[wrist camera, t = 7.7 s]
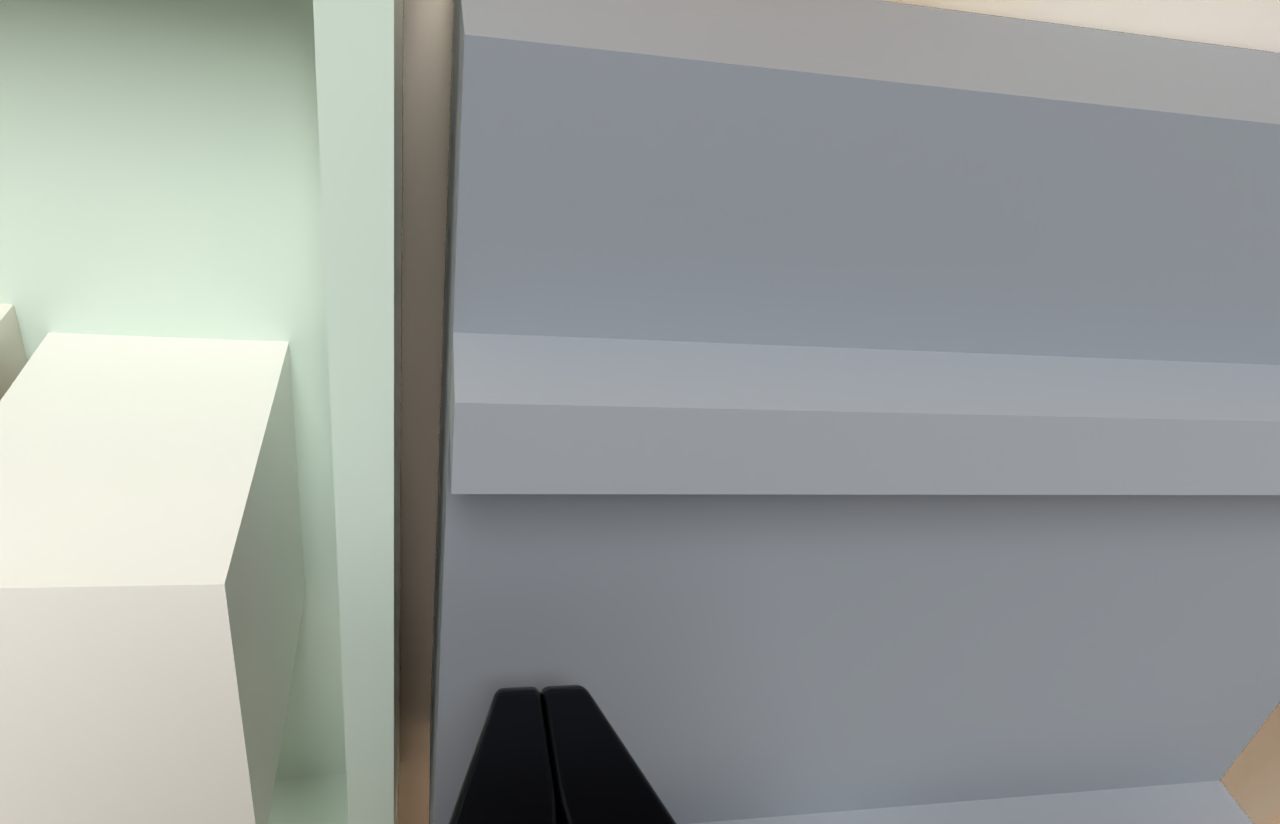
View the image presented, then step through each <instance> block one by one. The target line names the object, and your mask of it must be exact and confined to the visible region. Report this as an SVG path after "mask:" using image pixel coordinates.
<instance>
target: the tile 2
mask: <svg viewBox="0 0 1280 824" xmlns="http://www.w3.org/2000/svg"><path fill="white" fill-rule="evenodd" d="M305 593H306V592H305V577H304V562H303V547H302V532H301V517H300V502H299V487H298V472H297V457H296V442H295V427H294V412H293V397H292V382H291V367H290V352H289V342H283V341H256V340H229V339H202V338H176V337H149V336H122V335H96V334H69V333H48V334H47V335H46V337H45V338H44V339H43V341H42V342H41V344H40V345H39V347H38V348H37V349H36V351H35V352H34V354H33V355H32V356H31V358H30V359H29V361H28V362H27V364H26V365H25V366H24V368H23V369H22V371H21V372H20V374H19V375H18V376H17V378H16V379H15V381H14V382H13V383H12V385H11V386H10V388H9V389H8V391H7V392H6V393H5V395H4V396H3V398H2V399H1V401H0V824H268V820H269V814H270V808H271V801H272V795H273V789H274V783H275V777H276V771H277V765H278V759H279V752H280V746H281V740H282V734H283V728H284V722H285V716H286V709H287V703H288V697H289V691H290V685H291V679H292V673H293V667H294V660H295V654H296V648H297V642H298V636H299V630H300V624H301V618H302V611H303V605H304V599H305Z"/></svg>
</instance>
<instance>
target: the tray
mask: <svg viewBox="0 0 1280 824" xmlns="http://www.w3.org/2000/svg"><path fill="white" fill-rule="evenodd" d="M403 8H404V0H0V304H13V305H14V309H15V313H16V317H17V321H18V325H19V329H20V333H21V337H22V341H23V345H24V349H25V353H26V358H27V362H28V361H29V359H30V358H31V356H32V355H33V354H34V352H35V351H36V349H37V348H38V347H39V345H40V344H41V342H42V341H43V339H44V338H45V337H46V335H47V334H48V333H69V334H96V335H122V336H149V337H176V338H202V339H229V340H256V341H283V342H289V352H290V367H291V382H292V397H293V412H294V427H295V442H296V457H297V472H298V487H299V502H300V517H301V532H302V547H303V562H304V577H305V592H306V593H305V599H304V605H303V611H302V618H301V624H300V630H299V636H298V642H297V648H296V654H295V660H294V667H293V673H292V679H291V685H290V691H289V697H288V703H287V709H286V716H285V722H284V728H283V734H282V740H281V746H280V752H279V759H278V765H277V771H276V777H275V783H274V789H273V795H272V801H271V808H270V814H269V820H268V824H397V813H398V788H399V737H400V555H401V373H402V190H403Z"/></svg>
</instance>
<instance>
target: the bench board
mask: <svg viewBox="0 0 1280 824" xmlns="http://www.w3.org/2000/svg"><path fill="white" fill-rule="evenodd" d="M560 685H581V686H583V687H584V688H586V689H587V690H588V692H589V693H590V694H591V696H592V697H593V699H594V700H595V702H596V703H597V705H598V706H599V708H600V709H601V711H602V712H603V714H604V715H605V717H606V718H607V720H608V721H609V723H610V724H611V726H612V727H613V729H614V730H615V732H616V733H617V735H618V736H619V738H620V739H621V741H622V742H623V744H624V745H625V747H626V748H627V750H628V751H629V753H630V754H631V756H632V757H633V759H634V760H635V762H636V763H637V765H638V766H639V768H640V769H641V771H642V772H643V774H644V775H645V777H646V778H647V780H648V781H649V783H650V784H651V786H652V787H653V789H654V791H655V792H656V794H657V795H658V797H659V798H660V800H661V801H662V803H663V804H664V806H665V807H666V809H667V810H668V812H669V813H670V815H671V816H672V818H673V819H674V821H675V822H676V824H1253V822H1252V821H1251V820H1250V819H1249V817H1248V816H1247V815H1246V813H1245V812H1244V811H1243V810H1242V808H1241V807H1240V806H1239V804H1238V803H1237V802H1236V801H1235V799H1234V798H1233V797H1232V795H1231V794H1230V793H1229V792H1228V790H1227V789H1226V788H1225V786H1224V785H1223V784H1222V783H1221V781H1220V780H1221V778H1222V777H1223V776H1224V774H1225V773H1226V772H1227V770H1228V769H1229V768H1230V766H1231V765H1232V764H1233V763H1234V761H1235V760H1236V759H1237V757H1238V756H1239V755H1240V753H1241V752H1242V751H1243V749H1244V748H1245V747H1246V746H1247V744H1248V743H1249V742H1250V740H1251V739H1252V738H1253V736H1254V735H1255V734H1256V732H1257V731H1258V730H1259V729H1260V727H1261V726H1262V725H1263V723H1264V722H1265V721H1266V719H1267V718H1268V717H1269V716H1270V714H1271V713H1272V712H1273V710H1274V709H1275V708H1276V706H1277V705H1278V704H1279V702H1280V53H1275V52H1267V51H1260V50H1252V49H1244V48H1237V47H1229V46H1222V45H1214V44H1206V43H1199V42H1191V41H1184V40H1176V39H1168V38H1161V37H1153V36H1146V35H1138V34H1130V33H1123V32H1115V31H1108V30H1100V29H1092V28H1085V27H1077V26H1070V25H1062V24H1054V23H1047V22H1039V21H1032V20H1024V19H1016V18H1009V17H1001V16H994V15H986V14H978V13H971V12H963V11H956V10H948V9H940V8H933V7H925V6H918V5H910V4H902V3H895V2H887V1H880V0H454V8H453V38H452V69H451V100H450V131H449V162H448V192H447V223H446V254H445V285H444V315H443V346H442V377H441V408H440V439H439V469H438V500H437V531H436V562H435V593H434V623H433V654H432V685H431V716H430V798H429V824H449V821H450V818H451V816H452V813H453V810H454V807H455V804H456V801H457V799H458V796H459V793H460V790H461V787H462V784H463V781H464V779H465V776H466V773H467V770H468V767H469V764H470V761H471V759H472V756H473V753H474V750H475V747H476V744H477V742H478V739H479V736H480V733H481V730H482V727H483V724H484V722H485V719H486V716H487V713H488V710H489V707H490V704H491V702H492V699H493V696H494V694H495V692H496V691H497V690H498V689H500V688H510V687H535V688H537V689H538V690H539V692H541V690H542V689H543V688H544V687H547V686H560Z"/></svg>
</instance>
